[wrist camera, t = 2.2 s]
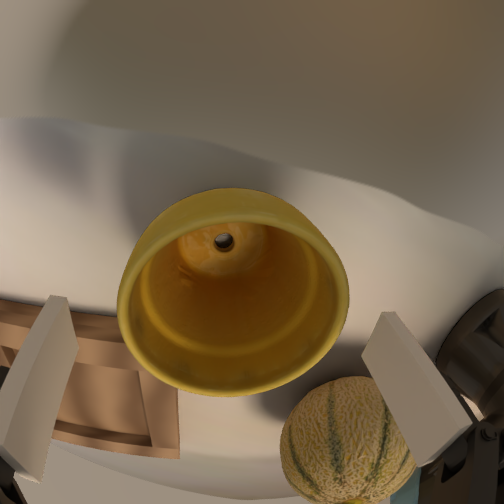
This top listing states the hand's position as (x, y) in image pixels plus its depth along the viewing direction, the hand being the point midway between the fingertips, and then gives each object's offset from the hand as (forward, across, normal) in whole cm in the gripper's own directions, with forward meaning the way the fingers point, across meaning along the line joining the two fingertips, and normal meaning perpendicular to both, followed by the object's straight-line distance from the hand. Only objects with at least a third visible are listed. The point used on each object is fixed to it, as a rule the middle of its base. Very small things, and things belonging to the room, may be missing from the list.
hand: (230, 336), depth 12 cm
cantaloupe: (+10, -14, +18) cm, 26 cm away
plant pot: (+11, 0, 0) cm, 11 cm away
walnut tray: (+10, +12, +18) cm, 25 cm away
